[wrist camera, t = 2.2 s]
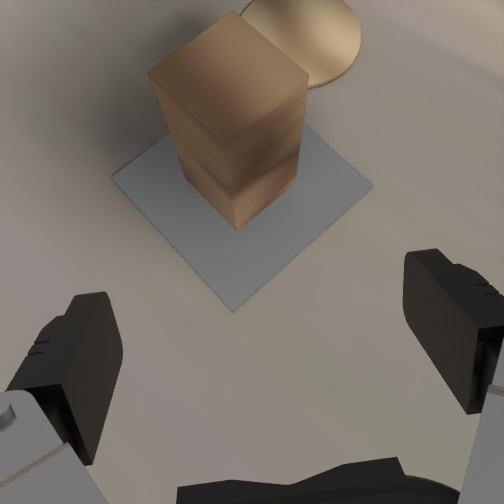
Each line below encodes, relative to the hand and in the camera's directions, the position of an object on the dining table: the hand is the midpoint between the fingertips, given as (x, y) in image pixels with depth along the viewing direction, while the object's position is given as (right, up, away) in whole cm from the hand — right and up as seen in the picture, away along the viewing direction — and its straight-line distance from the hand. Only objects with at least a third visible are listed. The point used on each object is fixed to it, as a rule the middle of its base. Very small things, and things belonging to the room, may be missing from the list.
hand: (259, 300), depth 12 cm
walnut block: (-1, +6, +17) cm, 18 cm away
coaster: (+3, +17, +21) cm, 27 cm away
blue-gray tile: (-1, +6, +17) cm, 18 cm away
